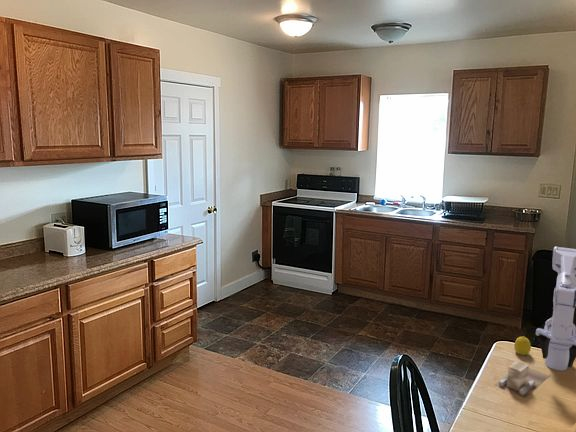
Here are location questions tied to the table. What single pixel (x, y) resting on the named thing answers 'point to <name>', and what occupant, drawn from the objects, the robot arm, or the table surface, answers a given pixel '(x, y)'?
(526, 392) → the board
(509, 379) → the block
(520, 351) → the lemon
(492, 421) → the table surface
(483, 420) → the table surface
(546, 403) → the table surface
